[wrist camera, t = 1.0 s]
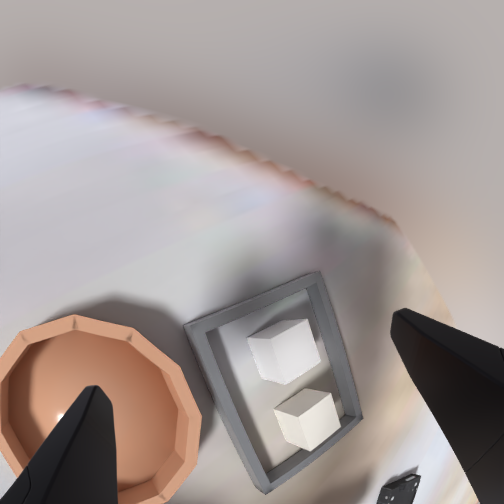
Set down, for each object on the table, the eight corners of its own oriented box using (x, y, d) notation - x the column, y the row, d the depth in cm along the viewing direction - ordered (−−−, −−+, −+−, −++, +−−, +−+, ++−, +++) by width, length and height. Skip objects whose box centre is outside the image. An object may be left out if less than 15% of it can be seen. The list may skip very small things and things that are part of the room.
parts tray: (352, 416, 32) (363, 418, 31) (256, 488, 24) (265, 494, 23) (308, 273, 33) (319, 270, 32) (182, 325, 25) (189, 325, 23)
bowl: (212, 456, 23) (229, 471, 20) (61, 513, 14) (62, 535, 11) (142, 293, 24) (151, 289, 21) (-28, 347, 15) (-44, 351, 12)
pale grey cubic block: (294, 359, 30) (321, 361, 27) (261, 378, 28) (285, 384, 24) (281, 320, 30) (307, 318, 27) (245, 337, 28) (269, 339, 25)
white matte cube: (315, 419, 30) (340, 426, 26) (285, 440, 27) (310, 451, 24) (304, 387, 30) (330, 393, 27) (272, 408, 28) (297, 417, 24)
